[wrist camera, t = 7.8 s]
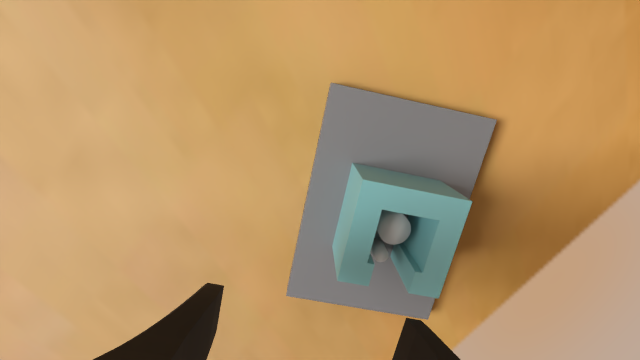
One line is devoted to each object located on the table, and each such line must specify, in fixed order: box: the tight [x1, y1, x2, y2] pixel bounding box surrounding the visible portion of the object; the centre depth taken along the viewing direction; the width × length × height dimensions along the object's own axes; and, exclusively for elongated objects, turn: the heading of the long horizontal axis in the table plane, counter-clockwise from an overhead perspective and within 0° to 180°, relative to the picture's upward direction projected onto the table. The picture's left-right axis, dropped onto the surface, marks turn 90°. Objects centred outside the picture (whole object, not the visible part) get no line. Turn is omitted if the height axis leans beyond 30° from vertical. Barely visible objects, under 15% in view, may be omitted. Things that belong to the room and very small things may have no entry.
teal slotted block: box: [332, 163, 472, 298], centre depth 18 cm, size 6×6×4 cm
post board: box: [286, 83, 497, 320], centre depth 19 cm, size 14×10×4 cm
